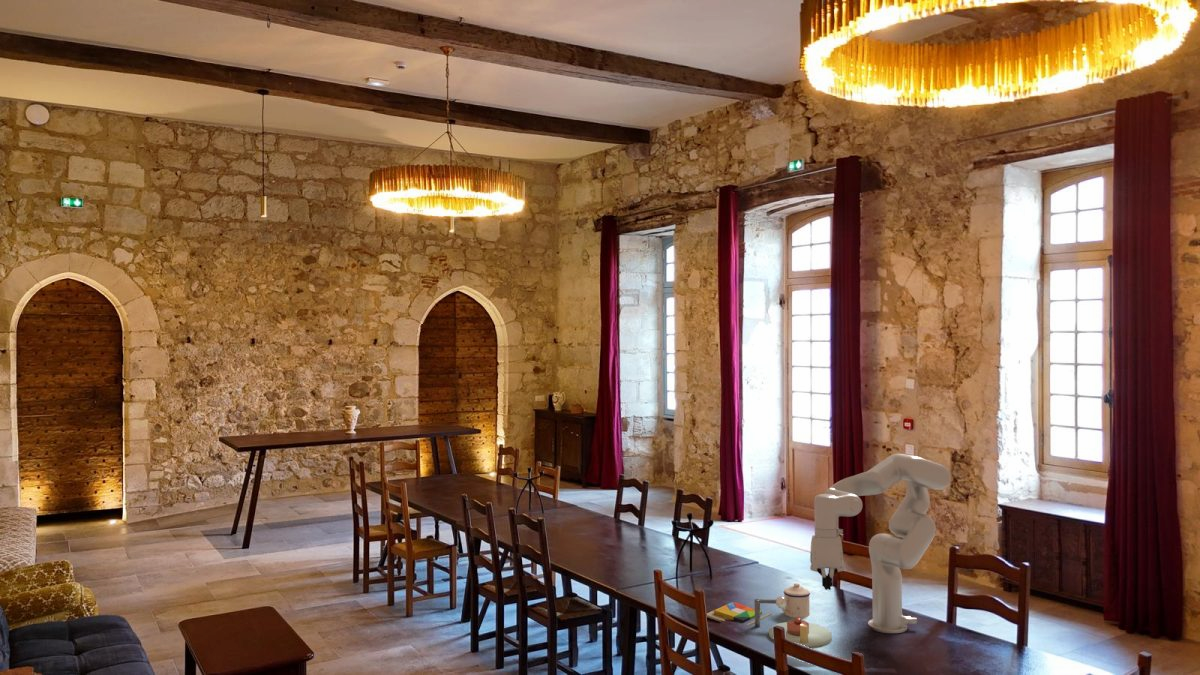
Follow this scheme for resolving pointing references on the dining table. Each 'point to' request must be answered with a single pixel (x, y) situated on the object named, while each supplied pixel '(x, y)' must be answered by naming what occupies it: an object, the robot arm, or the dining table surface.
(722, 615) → the wooden puzzle
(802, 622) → the cover
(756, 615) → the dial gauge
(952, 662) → the dining table surface
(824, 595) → the dining table surface
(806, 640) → the turntable
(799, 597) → the teacup with lid
